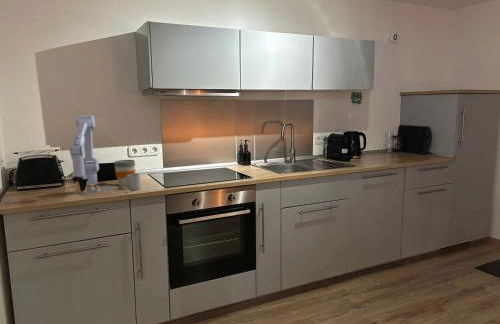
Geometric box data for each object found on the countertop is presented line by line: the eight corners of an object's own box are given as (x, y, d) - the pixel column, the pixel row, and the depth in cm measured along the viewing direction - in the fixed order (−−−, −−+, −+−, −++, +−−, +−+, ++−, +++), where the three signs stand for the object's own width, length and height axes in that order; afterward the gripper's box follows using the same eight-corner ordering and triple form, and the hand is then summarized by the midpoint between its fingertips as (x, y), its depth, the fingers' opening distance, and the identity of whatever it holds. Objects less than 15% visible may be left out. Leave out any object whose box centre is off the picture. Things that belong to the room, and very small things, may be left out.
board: (70, 194, 210) (69, 186, 209) (107, 187, 226) (106, 180, 225) (80, 198, 201) (80, 190, 200) (118, 190, 216) (118, 183, 216)
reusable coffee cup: (139, 184, 233) (138, 161, 231) (120, 187, 225) (118, 163, 223) (131, 181, 243) (130, 159, 240) (112, 184, 234) (110, 161, 232)
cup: (141, 190, 218) (140, 175, 217) (123, 191, 214) (122, 176, 213) (140, 187, 225) (139, 173, 223) (123, 189, 221) (121, 174, 220)
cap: (74, 192, 209) (73, 181, 208) (83, 190, 213) (82, 180, 212) (78, 193, 206) (77, 182, 205) (87, 191, 209) (86, 181, 208)
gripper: (66, 166, 209) (68, 189, 211) (76, 168, 199) (79, 193, 201) (78, 164, 214) (80, 187, 216) (89, 166, 204) (91, 190, 206)
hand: (80, 189), depth 209 cm, fingers closed on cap, 5 cm apart
